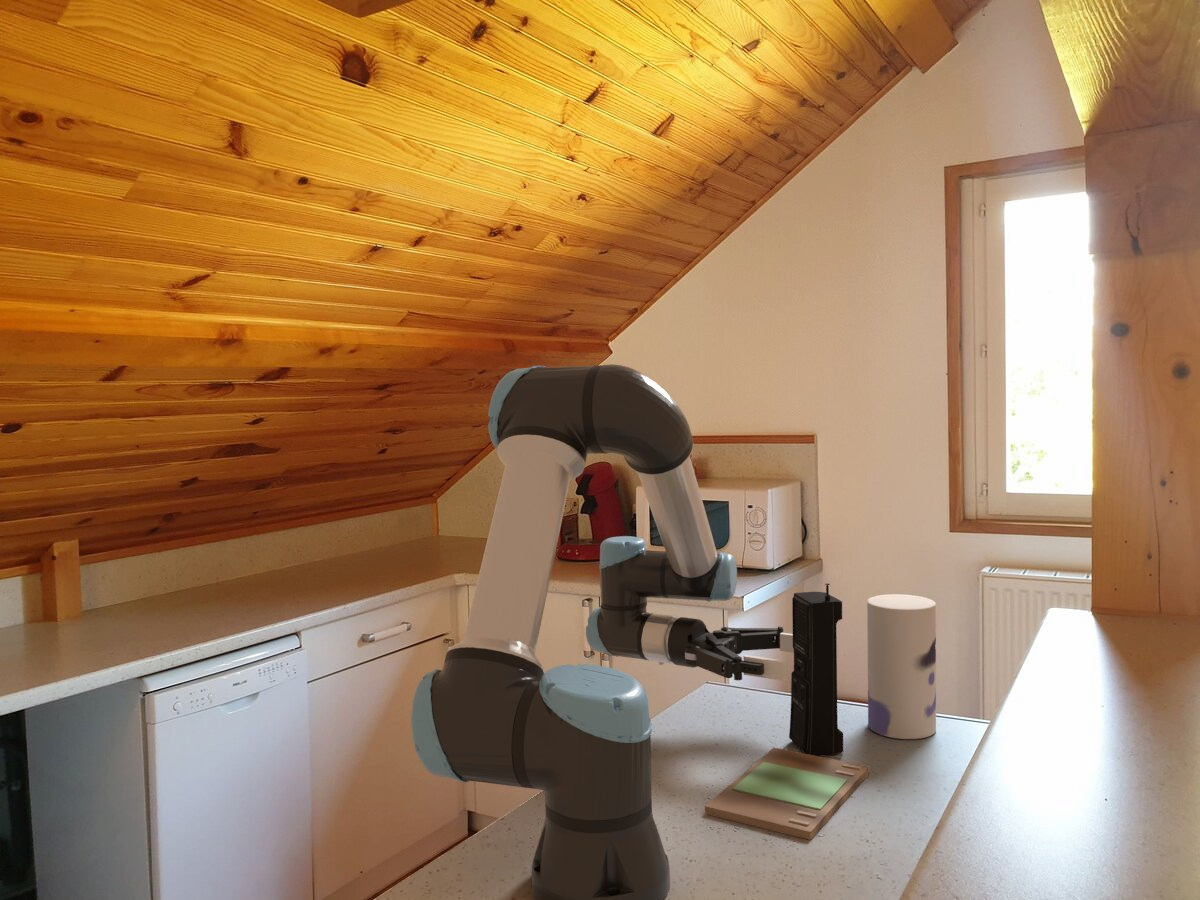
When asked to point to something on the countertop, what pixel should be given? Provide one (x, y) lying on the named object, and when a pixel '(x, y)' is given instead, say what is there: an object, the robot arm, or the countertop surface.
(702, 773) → the countertop surface
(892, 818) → the countertop surface
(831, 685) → the portable radio
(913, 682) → the container
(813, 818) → the board
